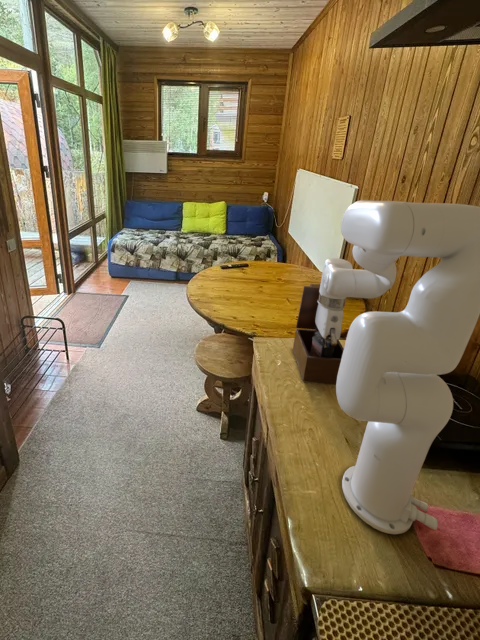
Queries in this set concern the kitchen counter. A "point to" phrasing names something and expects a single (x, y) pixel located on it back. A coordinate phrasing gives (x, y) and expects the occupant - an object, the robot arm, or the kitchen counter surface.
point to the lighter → (317, 345)
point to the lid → (308, 307)
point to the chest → (315, 359)
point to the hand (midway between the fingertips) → (321, 348)
